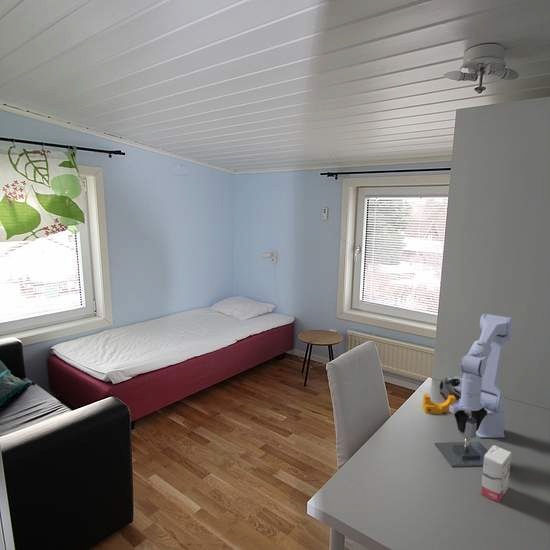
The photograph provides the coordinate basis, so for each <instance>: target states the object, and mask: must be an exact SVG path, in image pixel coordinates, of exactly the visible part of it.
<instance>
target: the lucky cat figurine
mask: <svg viewBox="0 0 550 550" xmlns="http://www.w3.org/2000/svg"><path fill="white" fill-rule="evenodd" d="M461 388H462V377H461V375H454V376H450V375H448V376H445V378H443V379H442V380H441V381H440V383H439V394H440V395H442V398H443V399H444V400H445V401H446V400H447V399H448V396H449V395H454V397H455V398H456V402H455V403H457V402H459V399H461Z"/></svg>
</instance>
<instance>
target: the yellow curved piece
mask: <svg viewBox="0 0 550 550" xmlns="http://www.w3.org/2000/svg"><path fill="white" fill-rule="evenodd" d="M422 397H423V399H422V409H423V411H424V412H425V414H434V415H443V413H451V412H450V411H449V406H450V405H453V404H455V402H456V398H455V397H454V395H449V396H448V399H447V400H446V399H445V401H444V402H441V403H437V402H436V403H435V402H433V401H432V400H431V396H430V395H429V394H428V393H423V395H422Z"/></svg>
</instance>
